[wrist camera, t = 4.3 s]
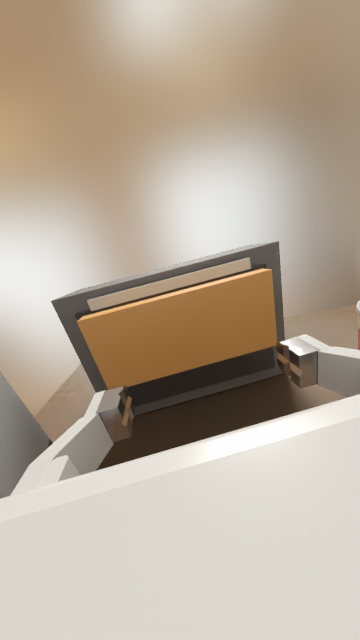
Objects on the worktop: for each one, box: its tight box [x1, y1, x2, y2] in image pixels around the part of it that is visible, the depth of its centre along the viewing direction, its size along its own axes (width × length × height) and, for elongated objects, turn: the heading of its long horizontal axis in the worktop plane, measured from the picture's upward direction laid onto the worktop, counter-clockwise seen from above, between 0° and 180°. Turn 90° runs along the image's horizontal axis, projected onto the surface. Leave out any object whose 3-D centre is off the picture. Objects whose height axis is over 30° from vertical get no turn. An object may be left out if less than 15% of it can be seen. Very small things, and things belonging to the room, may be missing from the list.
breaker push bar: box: [77, 269, 277, 389], centre depth 17 cm, size 3×16×7 cm, turn 97°
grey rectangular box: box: [51, 242, 285, 416], centre depth 27 cm, size 9×26×18 cm, turn 97°
